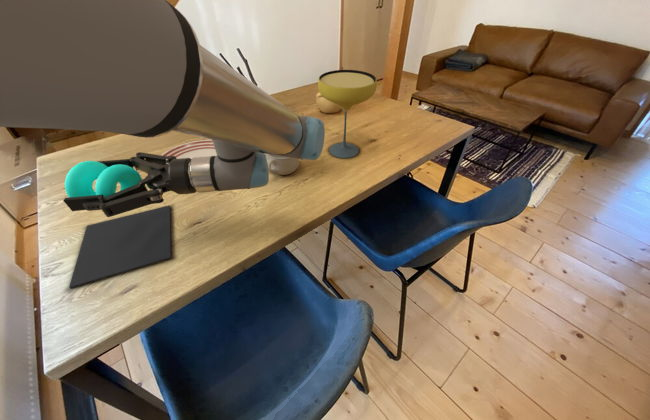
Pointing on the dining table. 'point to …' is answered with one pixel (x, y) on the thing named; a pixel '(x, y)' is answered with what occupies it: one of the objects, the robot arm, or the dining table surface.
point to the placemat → (123, 245)
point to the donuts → (99, 179)
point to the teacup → (281, 164)
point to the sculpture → (326, 104)
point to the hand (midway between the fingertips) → (85, 184)
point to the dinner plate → (192, 150)
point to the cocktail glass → (346, 98)
